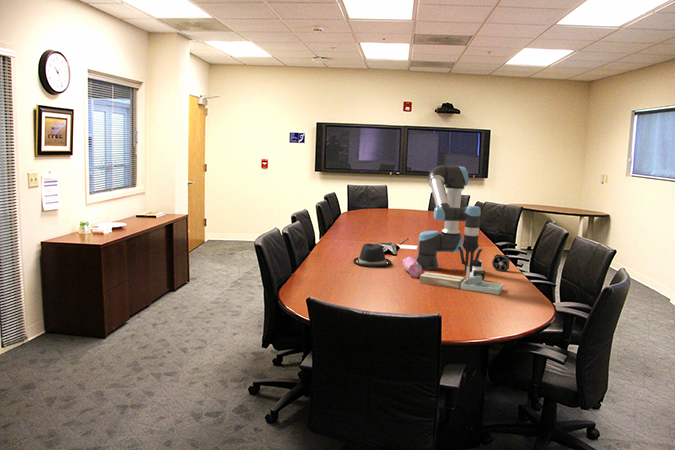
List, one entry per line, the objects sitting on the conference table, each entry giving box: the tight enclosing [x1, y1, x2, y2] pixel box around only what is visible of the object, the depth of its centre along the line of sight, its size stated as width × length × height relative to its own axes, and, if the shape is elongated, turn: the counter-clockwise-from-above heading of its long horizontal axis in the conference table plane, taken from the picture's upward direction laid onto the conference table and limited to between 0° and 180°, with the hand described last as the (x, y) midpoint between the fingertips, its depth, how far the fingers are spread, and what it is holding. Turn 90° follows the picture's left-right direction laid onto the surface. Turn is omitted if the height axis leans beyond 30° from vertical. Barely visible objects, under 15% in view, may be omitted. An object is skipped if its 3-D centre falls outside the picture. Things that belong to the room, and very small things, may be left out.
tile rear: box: [467, 276, 482, 284], centre depth 278 cm, size 6×6×3 cm
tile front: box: [475, 281, 489, 288], centre depth 277 cm, size 6×6×3 cm
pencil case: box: [401, 255, 425, 279], centre depth 307 cm, size 21×9×9 cm, turn 3°
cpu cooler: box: [491, 254, 511, 272], centre depth 326 cm, size 10×6×10 cm, turn 62°
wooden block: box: [418, 271, 465, 290], centre depth 287 cm, size 12×22×4 cm, turn 63°
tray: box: [459, 278, 504, 296], centre depth 277 cm, size 13×20×3 cm, turn 63°
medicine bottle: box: [470, 259, 486, 282], centre depth 296 cm, size 7×7×12 cm
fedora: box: [352, 243, 392, 268], centre depth 332 cm, size 25×27×12 cm
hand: (467, 277), depth 280 cm, fingers closed
